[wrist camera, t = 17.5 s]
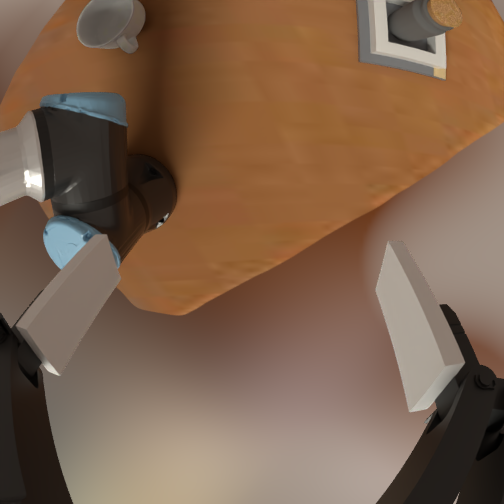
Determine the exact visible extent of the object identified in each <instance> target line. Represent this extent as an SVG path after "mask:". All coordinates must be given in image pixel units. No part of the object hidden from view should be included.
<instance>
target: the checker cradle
mask: <svg viewBox="0 0 504 504" xmlns="http://www.w3.org/2000/svg"><path fill="white" fill-rule="evenodd" d="M412 1H414V0H356V10H357V26H358V53H359V62H363V63H369V64H375V65H381V66H386V67H392V68H396V69H401V70H406V71H410V72H414V73H418V74H422V75H426V76H430V77H433V78H437V79H440V80H445V81H446V43H445V33H444V34H441V35H438V36H433V37H429V38H425V39H421V40H417V41H413V42H403V41H400V40H398V39H397V38H395V37H394V36H393V35H392V34H391V32H390V31H389V29H388V25H387V19H388V16H389V15H390V14H391V13H393V12H394V11H396V10H398V9H399V8H401V7H403V6H404V5H406V4H408V3H410V2H412Z"/></svg>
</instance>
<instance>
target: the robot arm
mask: <svg viewBox="0 0 504 504" xmlns="http://www.w3.org/2000/svg"><path fill="white" fill-rule="evenodd" d="M40 107H41V108H39V109H36V110H32V111H28V112H27V113H26V115H25V116H24V117H23V119H22V120H21V122H20V123H19V125H18V126H17V127H15V128H12V129H9V130H6V131H3V132H0V206H1V205H3V204H6V203H8V202H10V201H13V200H15V199H17V198H19V197H22V196H25V195H28V196H31V197H32V198H34V199H36V200H38V201H39V202H42V201H45V200H48V199H50V198H51V203H52V208H53V213H54V217H52V218H51V219H50V220H49V221H48V222H47V225H46V228H45V229H44V233H43V238H44V243H45V246H46V249H47V251H48V253H49V255H50V257H51V258H52V260H53V261H54V262H55V264H56V265H57V266H58V267H59V268H60V269H61V271H60V272H59V273H58V274H57V275H56V276H55V278H54V279H53V280H52V281H51V282H50V283H49V284H48V286H47V287H46V288H45V289H43V290H42V291H41V292H40V293H39V294H38V296H37V297H36V298H35V299H34V301H32V303H31V304H30V305H29V307H28V308H27V309H26V310H25V312H24V313H23V314H22V315H21V317H20V318H19V319H18V320H17V322H16V323H15V324H14V326H13V327H12V328H10V327H9V325H8V323H7V322H6V320H5V319H4V318H3V315H2V314H1V313H0V504H73V502H72V499H71V497H70V494H69V491H68V488H67V486H66V482H65V480H64V476H63V473H62V470H61V467H60V463H59V460H58V456H57V452H56V448H55V445H54V440H53V436H52V432H51V427H50V422H49V416H48V411H47V405H46V399H45V391H44V384H43V374H42V371H41V369H40V368H39V366H40V365H41V363H42V364H43V365H44V366H45V368H46V369H47V370H48V371H49V372H51V373H54V374H56V375H59V376H61V374H62V372H63V371H64V369H65V367H66V365H67V363H68V362H69V360H70V358H71V357H72V355H73V353H74V351H75V350H76V348H77V346H78V345H79V343H80V341H81V340H82V338H83V336H84V335H85V333H86V331H87V330H88V328H89V327H90V325H91V323H92V322H93V320H94V318H95V317H96V315H97V314H98V312H99V311H100V309H101V308H102V306H103V305H104V303H105V302H106V300H107V299H108V297H109V296H110V294H111V293H112V291H113V290H114V289H115V287H116V286H117V284H118V283H119V281H120V280H121V277H120V275H119V272H118V268H119V266H120V264H121V262H122V261H123V260H124V258H125V257H126V256H127V254H128V253H129V252H130V250H131V249H132V248H133V246H134V245H135V244H136V243H137V241H138V240H139V239H140V237H141V236H142V235H143V234H145V233H147V232H150V231H152V230H155V229H157V228H158V227H160V226H161V225H163V224H164V223H165V222H166V220H167V219H168V218H169V217H170V215H171V214H172V212H173V210H174V208H175V205H176V197H177V195H176V187H175V183H174V181H173V178H172V176H171V175H170V173H169V171H168V170H167V169H166V168H165V167H164V166H163V165H162V164H161V163H160V162H159V161H157V160H156V159H154V158H152V157H149V156H146V155H138V154H137V155H130V156H127V127H128V123H127V122H126V103H125V100H124V98H123V97H122V96H121V95H119V94H117V93H107V92H81V93H68V94H54V95H47V96H44V97H43V98H42V99H41V102H40ZM376 293H377V296H378V299H379V302H380V305H381V308H382V311H383V314H384V317H385V321H386V324H387V327H388V331H389V334H390V337H391V341H392V344H393V348H394V351H395V355H396V359H397V363H398V366H399V370H400V374H401V378H402V382H403V387H404V391H405V395H406V400H407V404H408V409H409V412H413V411H419V410H425V409H428V408H429V406H430V405H431V404H432V403H433V402H434V401H435V403H436V406H437V409H436V410H435V411H434V412H433V413H432V414H431V415H430V416H429V417H428V418H427V420H426V421H425V422H424V423H428V422H429V423H428V425H427V426H426V428H425V430H424V432H423V434H422V436H421V437H420V439H419V441H418V443H417V444H416V446H415V448H414V450H413V451H412V453H411V455H410V456H409V458H408V459H407V461H406V462H405V464H404V465H403V467H402V468H401V470H400V472H399V473H398V474H397V476H396V477H395V479H394V480H393V482H392V483H391V484H390V486H389V487H388V489H387V490H386V491H385V493H384V494H383V495H382V497H381V498H380V499H379V500H378V502H377V503H376V504H453V503H454V501H455V499H456V497H457V496H458V494H459V496H458V499H457V503H456V504H504V379H501V378H496V375H495V374H494V372H493V371H492V370H491V369H489V368H488V367H486V366H483V365H480V364H479V362H478V360H477V358H476V355H475V353H474V350H473V348H472V346H471V344H470V342H469V339H468V337H467V335H466V334H465V331H464V329H463V327H462V326H461V323H460V321H459V319H458V317H457V315H456V313H455V312H454V311H453V310H452V309H451V308H450V307H449V306H448V305H447V304H442V305H439V304H438V302H437V300H436V298H435V296H434V294H433V293H432V291H431V289H430V287H429V285H428V283H427V281H426V280H425V278H424V276H423V274H422V273H421V271H420V269H419V267H418V266H417V264H416V262H415V260H414V259H413V257H412V255H411V254H410V252H409V250H408V249H407V247H406V245H405V244H404V242H402V241H388V243H387V247H386V251H385V256H384V260H383V264H382V268H381V271H380V275H379V279H378V282H377V286H376ZM459 492H460V493H459Z"/></svg>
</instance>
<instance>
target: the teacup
mask: <svg viewBox="0 0 504 504" xmlns="http://www.w3.org/2000/svg"><path fill="white" fill-rule="evenodd" d="M144 22H145V10H144V7H143V5H142V4H141V3H140V2H139V1H138V0H91V1H90V2H89V3H88V4H87V5H86V7H85V8H84V9H83V11H82V12H81V14H80V17H79V19H78V23H77V36H78V39H79V41H80V42H81V43H82V44H83V45H85V46H87V47H91V48H103V49H114V48H118V47H120V48H121V49H122V50H123V51H125V52H126V53H129V54H131V53H134V52H135V51H136V50H137V49H138V43H137V39H136V36H137V35H138V34H139V32H140V31H141V29H142V27H143V25H144Z"/></svg>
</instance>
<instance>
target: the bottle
mask: <svg viewBox="0 0 504 504" xmlns="http://www.w3.org/2000/svg"><path fill="white" fill-rule="evenodd" d="M461 23H462V13H461V10H460V8H459V7H458V5H457V4H456V3H455V2H454V1H453V0H414V1H412V2H410V3H408V4H406V5H404V6H403V7H401V8H399V9H398V10H396V11H394V12H393V13H391V14H390V15H389V16H388V19H387V25H388V29H389V31H390V32H391V34H392V35H393V36H394V37H395V38H397V39H398V40H400V41H403V42H413V41H417V40H421V39H425V38H429V37H433V36H438V35H441V34H444V33H445V32H446V31H448V30H451V29H453V28H454V27H458V26H459V25H460V24H461Z"/></svg>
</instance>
